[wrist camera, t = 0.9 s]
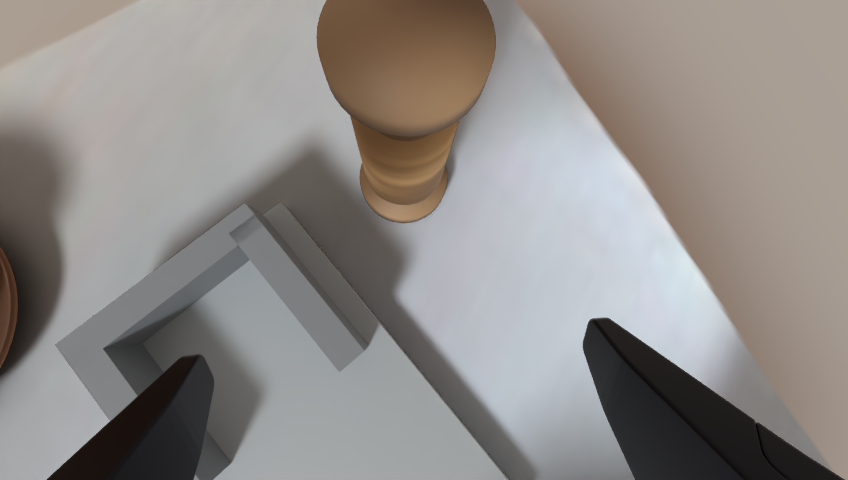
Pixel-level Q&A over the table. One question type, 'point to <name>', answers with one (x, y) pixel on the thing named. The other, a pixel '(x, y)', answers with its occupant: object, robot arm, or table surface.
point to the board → (277, 363)
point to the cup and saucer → (7, 306)
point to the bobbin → (405, 90)
